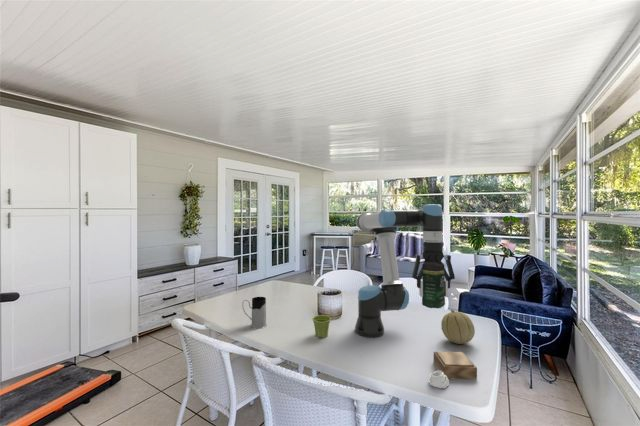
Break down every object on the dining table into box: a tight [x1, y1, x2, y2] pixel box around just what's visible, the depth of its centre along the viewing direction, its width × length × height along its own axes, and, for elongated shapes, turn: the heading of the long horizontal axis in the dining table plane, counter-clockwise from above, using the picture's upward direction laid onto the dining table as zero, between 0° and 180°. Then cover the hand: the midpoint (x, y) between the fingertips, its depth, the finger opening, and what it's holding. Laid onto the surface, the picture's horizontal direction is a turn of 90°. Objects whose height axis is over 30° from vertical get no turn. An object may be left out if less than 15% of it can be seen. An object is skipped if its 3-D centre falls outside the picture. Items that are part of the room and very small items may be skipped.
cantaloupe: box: [440, 309, 476, 345], centre depth 143 cm, size 15×15×15 cm
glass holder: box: [241, 296, 268, 329], centre depth 165 cm, size 9×14×15 cm, turn 78°
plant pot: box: [312, 314, 332, 339], centre depth 151 cm, size 9×9×9 cm
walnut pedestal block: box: [433, 350, 478, 380], centre depth 117 cm, size 12×12×5 cm
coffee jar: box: [421, 261, 446, 309], centre depth 122 cm, size 10×8×19 cm
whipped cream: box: [428, 369, 450, 389], centre depth 108 cm, size 8×7×5 cm
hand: (433, 296), depth 122 cm, fingers closed on coffee jar, 9 cm apart
